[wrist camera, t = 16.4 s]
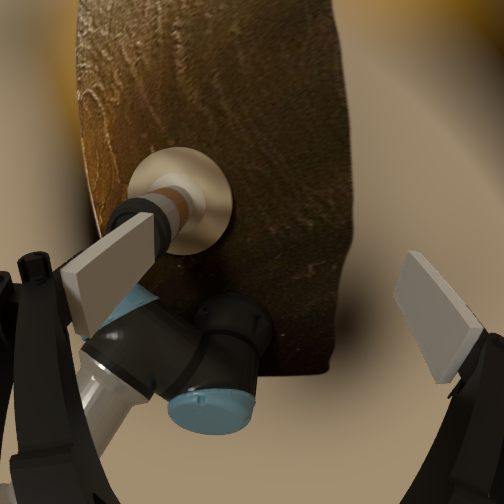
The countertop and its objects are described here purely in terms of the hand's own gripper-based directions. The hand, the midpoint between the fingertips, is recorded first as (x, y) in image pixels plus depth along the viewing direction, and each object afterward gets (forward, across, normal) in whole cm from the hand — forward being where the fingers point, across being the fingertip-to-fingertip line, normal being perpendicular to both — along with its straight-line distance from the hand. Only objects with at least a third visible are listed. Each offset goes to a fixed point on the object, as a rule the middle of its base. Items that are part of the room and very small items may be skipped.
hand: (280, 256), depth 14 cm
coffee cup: (+30, +16, +7) cm, 35 cm away
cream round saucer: (+32, +16, +7) cm, 36 cm away
